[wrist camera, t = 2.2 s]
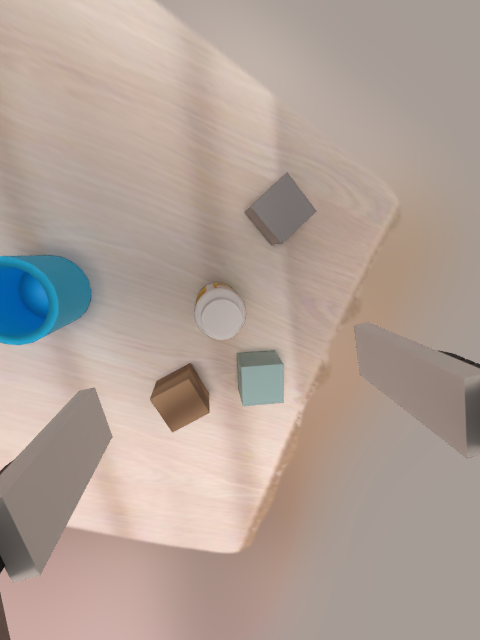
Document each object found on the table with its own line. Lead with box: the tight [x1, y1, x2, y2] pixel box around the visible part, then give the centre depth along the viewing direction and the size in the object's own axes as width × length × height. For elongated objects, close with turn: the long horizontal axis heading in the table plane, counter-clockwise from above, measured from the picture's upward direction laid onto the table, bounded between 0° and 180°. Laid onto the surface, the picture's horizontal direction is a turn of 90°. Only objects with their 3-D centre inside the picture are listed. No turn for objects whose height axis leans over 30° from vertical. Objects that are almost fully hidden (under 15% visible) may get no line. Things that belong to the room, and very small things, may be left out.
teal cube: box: [237, 351, 284, 406], centre depth 38 cm, size 5×5×5 cm
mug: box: [0, 255, 91, 345], centre depth 31 cm, size 12×8×8 cm
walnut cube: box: [150, 363, 210, 432], centre depth 37 cm, size 5×5×5 cm
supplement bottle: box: [194, 282, 246, 340], centre depth 33 cm, size 5×5×10 cm
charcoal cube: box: [245, 173, 316, 245], centre depth 33 cm, size 5×5×5 cm
